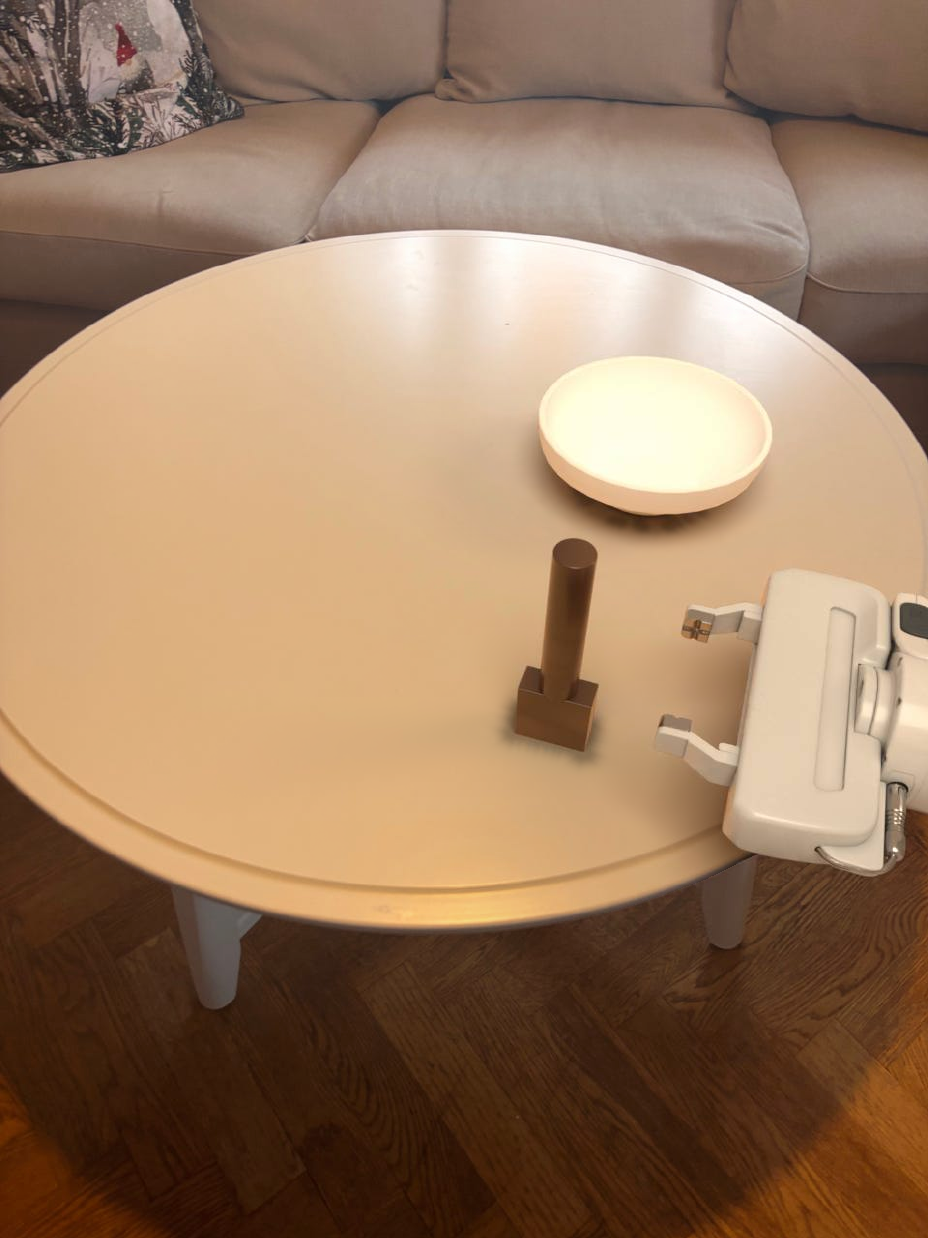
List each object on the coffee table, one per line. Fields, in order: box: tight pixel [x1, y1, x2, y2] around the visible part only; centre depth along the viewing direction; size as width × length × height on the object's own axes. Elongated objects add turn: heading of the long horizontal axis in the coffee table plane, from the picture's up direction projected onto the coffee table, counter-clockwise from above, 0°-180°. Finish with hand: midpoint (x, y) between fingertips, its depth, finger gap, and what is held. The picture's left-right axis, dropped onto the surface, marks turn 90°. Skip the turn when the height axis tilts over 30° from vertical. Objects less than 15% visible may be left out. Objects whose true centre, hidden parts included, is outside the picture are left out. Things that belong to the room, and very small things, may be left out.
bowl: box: [537, 355, 773, 516], centre depth 84 cm, size 20×20×7 cm
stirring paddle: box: [514, 537, 600, 753], centre depth 62 cm, size 5×3×17 cm, turn 71°
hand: (670, 672), depth 59 cm, fingers open, 8 cm apart
